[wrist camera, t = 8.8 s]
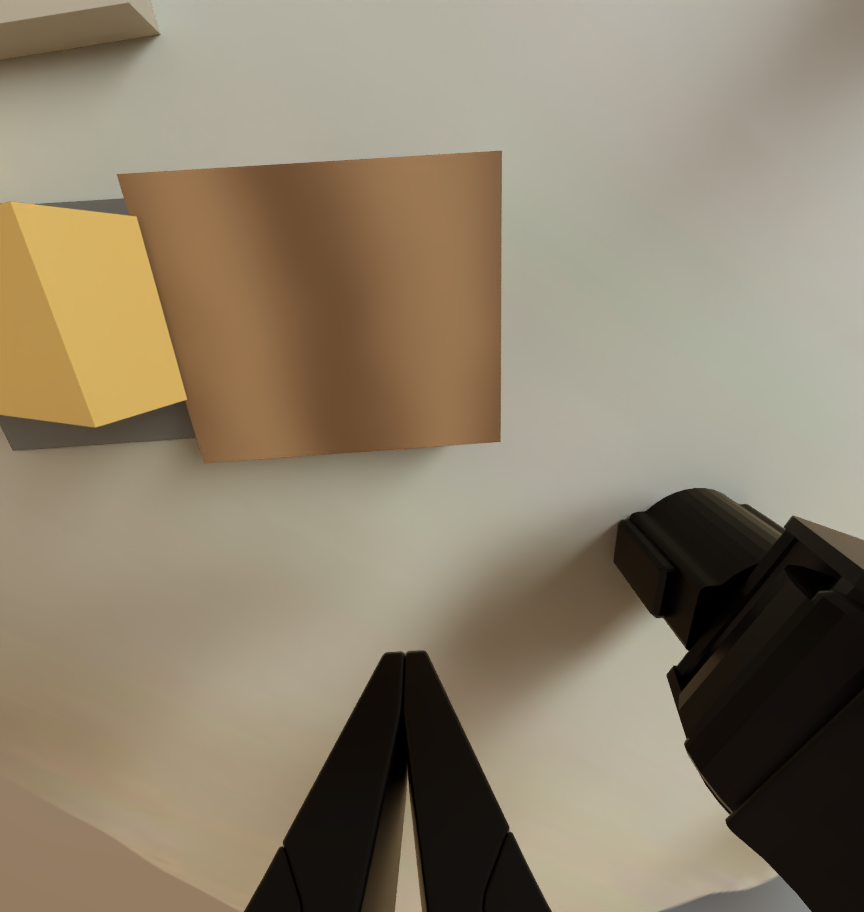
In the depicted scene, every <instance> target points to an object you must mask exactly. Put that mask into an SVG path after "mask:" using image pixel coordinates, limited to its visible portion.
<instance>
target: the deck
mask: <svg viewBox="0 0 864 912" xmlns="http://www.w3.org/2000/svg"><path fill="white" fill-rule="evenodd" d="M117 176H118V180H119V183H120V186H121V190H122V193H123V196H124V200H125V203H126V206H127V210H128V213H129V216H136V217H137V220H138V223H139V227H140V231H141V234H142V238H143V242H144V245H145V249H146V252H147V256H148V260H149V263H150V267H151V270H152V274H153V278H154V281H155V285H156V288H157V292H158V296H159V299H160V303H161V307H162V310H163V314H164V317H165V321H166V325H167V328H168V332H169V335H170V339H171V343H172V346H173V350H174V353H175V357H176V361H177V364H178V368H179V371H180V375H181V379H182V382H183V386H184V390H185V393H186V397H187V400H185V402H186V405H187V408H188V412H189V415H190V418H191V422H192V425H193V428H194V432H195V435H196V438H197V442H198V445H199V448H200V452H201V455H202V458H203V461H204V463H213V462H227V461H241V460H255V459H268V458H282V457H296V456H310V455H324V454H338V453H352V452H366V451H380V450H393V449H407V448H421V447H435V446H449V445H463V444H477V443H491V442H500V428H501V192H502V151H490V152H474V153H457V154H441V155H425V156H408V157H392V158H376V159H359V160H343V161H327V162H310V163H294V164H278V165H261V166H245V167H229V168H212V169H196V170H179V171H163V172H147V173H130V174H117Z"/></svg>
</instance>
